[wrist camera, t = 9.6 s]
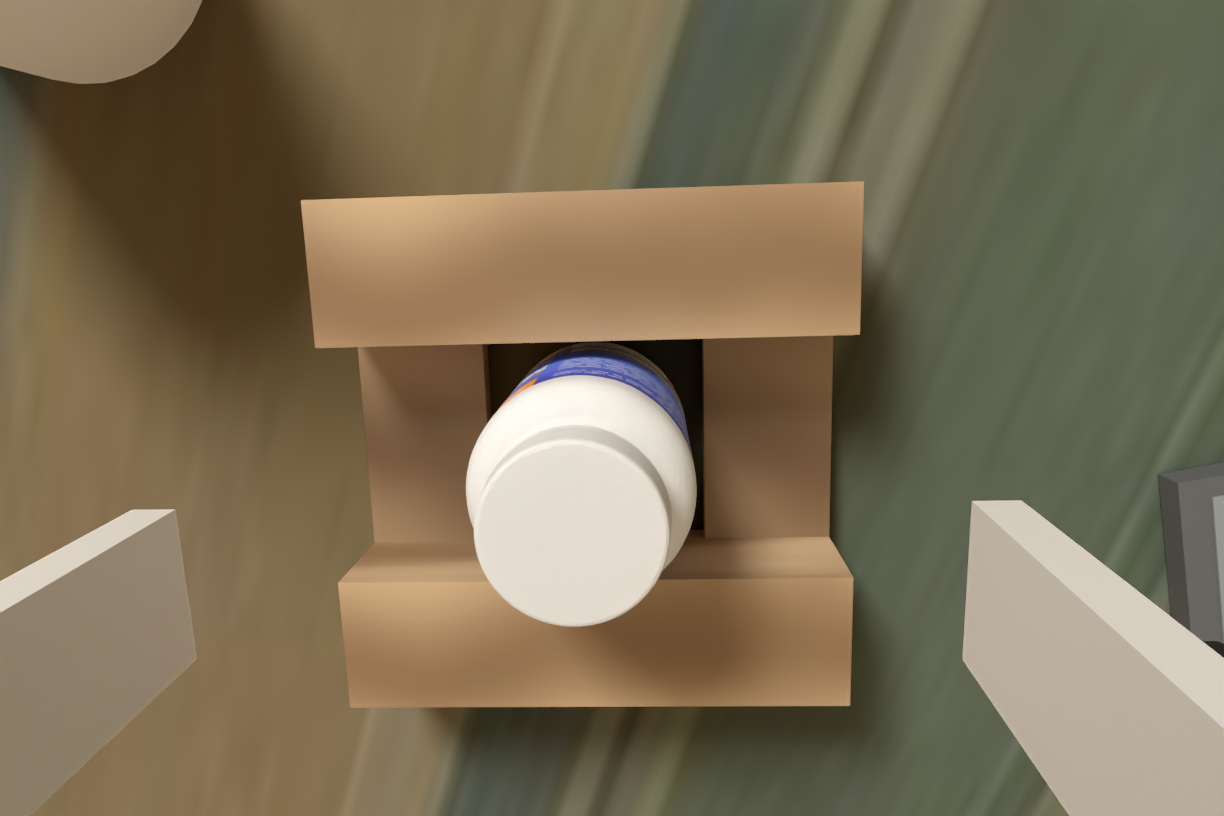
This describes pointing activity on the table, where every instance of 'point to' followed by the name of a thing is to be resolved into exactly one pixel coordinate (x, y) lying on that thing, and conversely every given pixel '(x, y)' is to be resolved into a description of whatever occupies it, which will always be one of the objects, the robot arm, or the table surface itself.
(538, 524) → the pill bottle
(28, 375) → the table surface
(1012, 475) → the table surface
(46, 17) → the cup
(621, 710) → the table surface
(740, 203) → the socket holder
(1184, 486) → the phone slab
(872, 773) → the table surface
